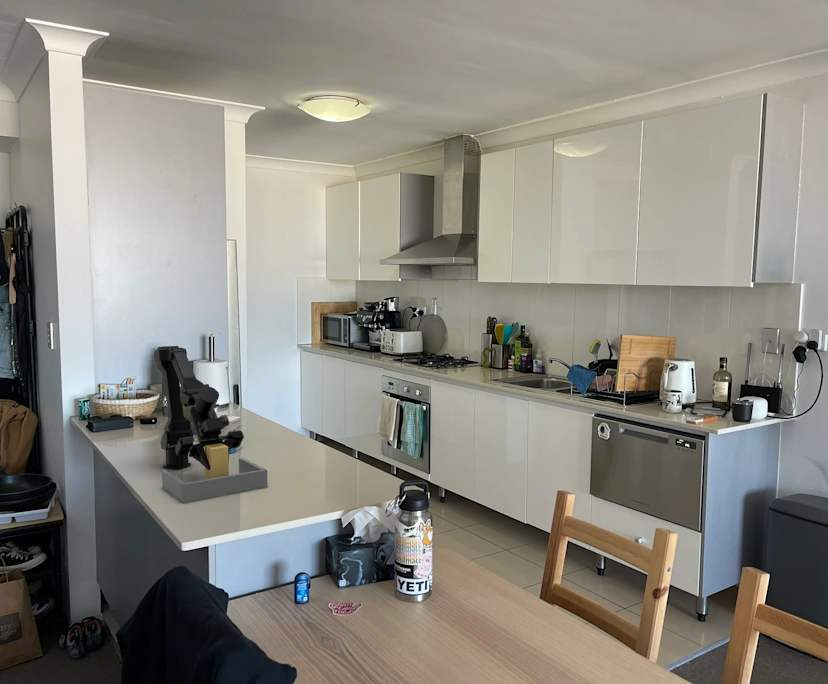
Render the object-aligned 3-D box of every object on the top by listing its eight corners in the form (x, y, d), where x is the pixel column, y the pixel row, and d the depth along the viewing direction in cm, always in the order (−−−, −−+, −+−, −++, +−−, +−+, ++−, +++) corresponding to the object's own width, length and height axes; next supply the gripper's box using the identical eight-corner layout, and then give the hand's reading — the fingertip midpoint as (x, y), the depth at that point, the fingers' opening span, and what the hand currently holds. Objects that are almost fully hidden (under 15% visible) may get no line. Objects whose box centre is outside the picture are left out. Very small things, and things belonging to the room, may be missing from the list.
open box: (162, 491, 198) (161, 470, 198) (242, 476, 213) (242, 457, 212) (183, 506, 185) (182, 484, 184) (267, 490, 199) (267, 469, 199)
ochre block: (205, 486, 198) (204, 445, 197) (222, 483, 201) (221, 443, 200) (211, 491, 194) (211, 449, 193) (228, 488, 197) (228, 446, 196)
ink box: (231, 454, 241) (230, 420, 240) (218, 453, 242) (217, 420, 241) (242, 448, 249) (241, 416, 248) (229, 447, 250) (228, 415, 249)
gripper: (177, 410, 193) (192, 457, 185) (240, 403, 204) (257, 447, 197) (169, 432, 200) (183, 479, 192) (230, 424, 211) (246, 468, 204)
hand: (218, 467), depth 196 cm, fingers closed on ochre block, 5 cm apart
